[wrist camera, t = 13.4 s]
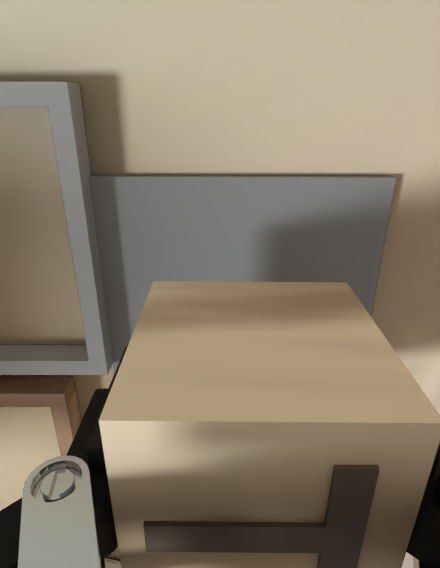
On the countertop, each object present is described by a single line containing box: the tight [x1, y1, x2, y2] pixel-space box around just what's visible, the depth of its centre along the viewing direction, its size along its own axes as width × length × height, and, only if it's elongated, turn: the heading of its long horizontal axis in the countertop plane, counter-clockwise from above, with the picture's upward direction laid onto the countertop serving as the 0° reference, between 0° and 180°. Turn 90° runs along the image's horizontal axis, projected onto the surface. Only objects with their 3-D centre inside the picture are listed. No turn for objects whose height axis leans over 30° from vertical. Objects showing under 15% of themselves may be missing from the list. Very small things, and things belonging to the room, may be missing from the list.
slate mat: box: [89, 175, 396, 374], centre depth 17 cm, size 11×11×1 cm
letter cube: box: [99, 281, 440, 568], centre depth 11 cm, size 6×6×6 cm
